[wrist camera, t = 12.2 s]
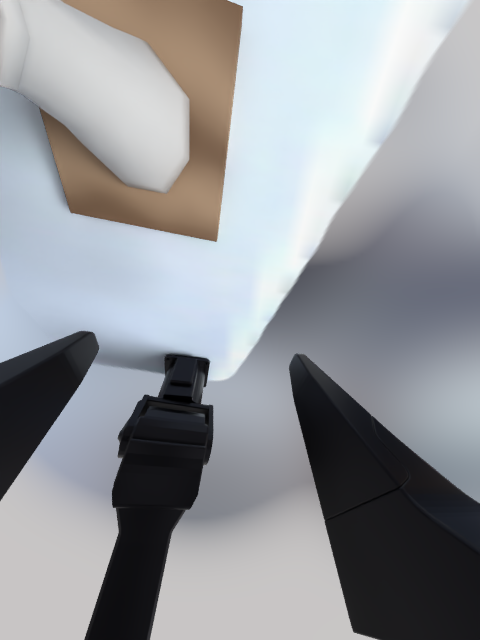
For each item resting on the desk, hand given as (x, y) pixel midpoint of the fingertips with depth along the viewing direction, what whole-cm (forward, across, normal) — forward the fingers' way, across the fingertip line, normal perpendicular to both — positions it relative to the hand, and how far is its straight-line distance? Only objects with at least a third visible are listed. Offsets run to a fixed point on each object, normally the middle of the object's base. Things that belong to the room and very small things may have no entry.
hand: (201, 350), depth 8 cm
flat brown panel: (+13, +6, -9) cm, 17 cm away
